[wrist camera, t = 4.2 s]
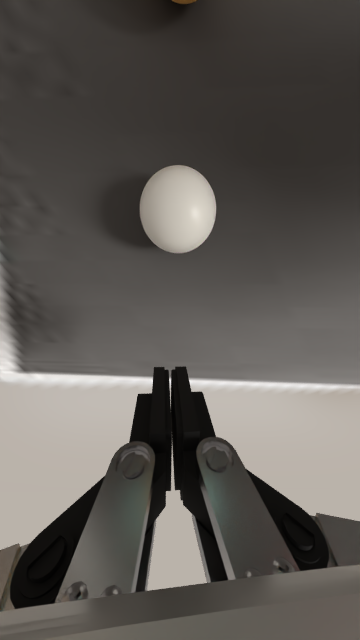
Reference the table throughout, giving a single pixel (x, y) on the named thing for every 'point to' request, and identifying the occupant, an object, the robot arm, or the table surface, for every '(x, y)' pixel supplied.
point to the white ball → (177, 209)
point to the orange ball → (184, 1)
